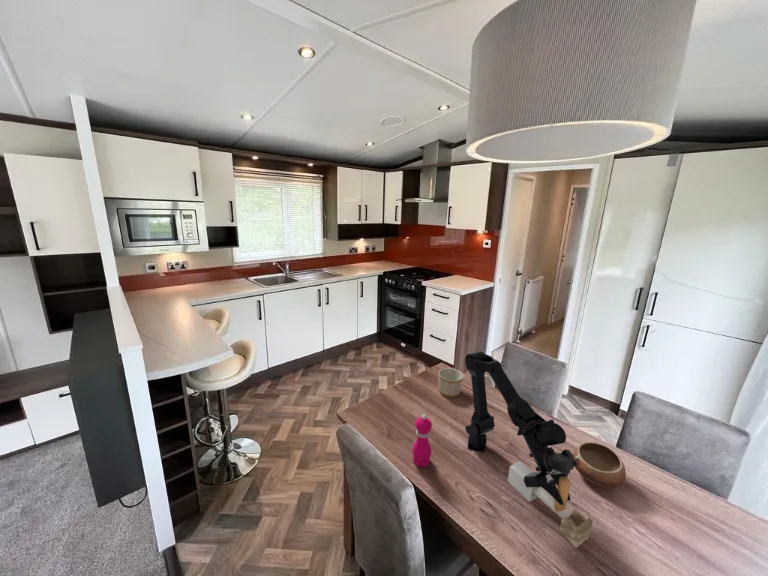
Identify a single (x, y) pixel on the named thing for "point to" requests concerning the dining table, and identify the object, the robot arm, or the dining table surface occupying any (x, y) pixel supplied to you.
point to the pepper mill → (422, 442)
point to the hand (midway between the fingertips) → (565, 502)
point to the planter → (450, 382)
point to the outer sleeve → (521, 480)
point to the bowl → (599, 464)
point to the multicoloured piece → (551, 502)
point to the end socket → (576, 528)
